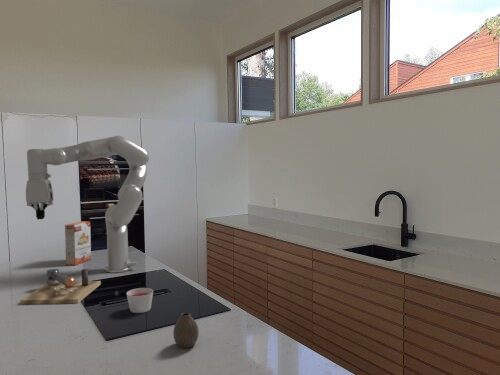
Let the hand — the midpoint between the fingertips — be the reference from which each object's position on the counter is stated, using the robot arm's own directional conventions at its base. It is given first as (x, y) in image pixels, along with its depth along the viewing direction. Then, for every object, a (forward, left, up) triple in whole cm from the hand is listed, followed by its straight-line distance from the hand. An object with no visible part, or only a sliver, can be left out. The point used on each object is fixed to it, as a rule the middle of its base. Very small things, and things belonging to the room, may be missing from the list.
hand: (40, 218), depth 174 cm
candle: (-53, +38, -28) cm, 71 cm away
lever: (-16, +17, -23) cm, 33 cm away
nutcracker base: (-17, +19, -27) cm, 38 cm away
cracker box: (-2, -34, -28) cm, 44 cm away
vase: (-73, +66, -28) cm, 102 cm away
